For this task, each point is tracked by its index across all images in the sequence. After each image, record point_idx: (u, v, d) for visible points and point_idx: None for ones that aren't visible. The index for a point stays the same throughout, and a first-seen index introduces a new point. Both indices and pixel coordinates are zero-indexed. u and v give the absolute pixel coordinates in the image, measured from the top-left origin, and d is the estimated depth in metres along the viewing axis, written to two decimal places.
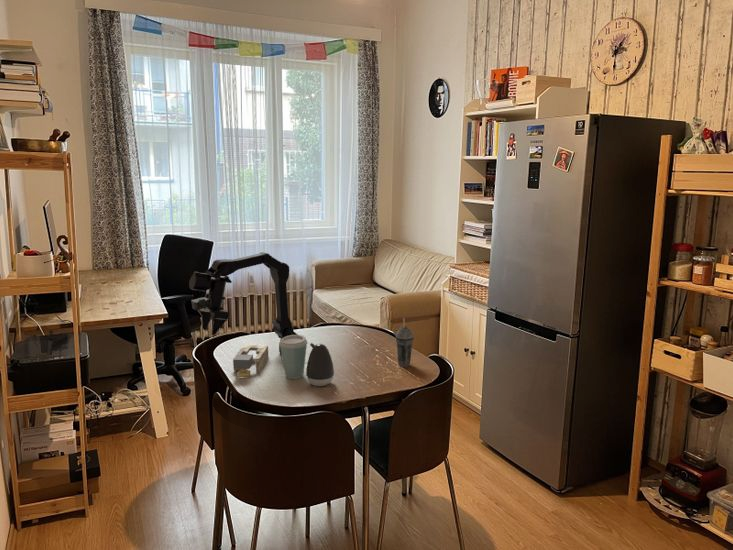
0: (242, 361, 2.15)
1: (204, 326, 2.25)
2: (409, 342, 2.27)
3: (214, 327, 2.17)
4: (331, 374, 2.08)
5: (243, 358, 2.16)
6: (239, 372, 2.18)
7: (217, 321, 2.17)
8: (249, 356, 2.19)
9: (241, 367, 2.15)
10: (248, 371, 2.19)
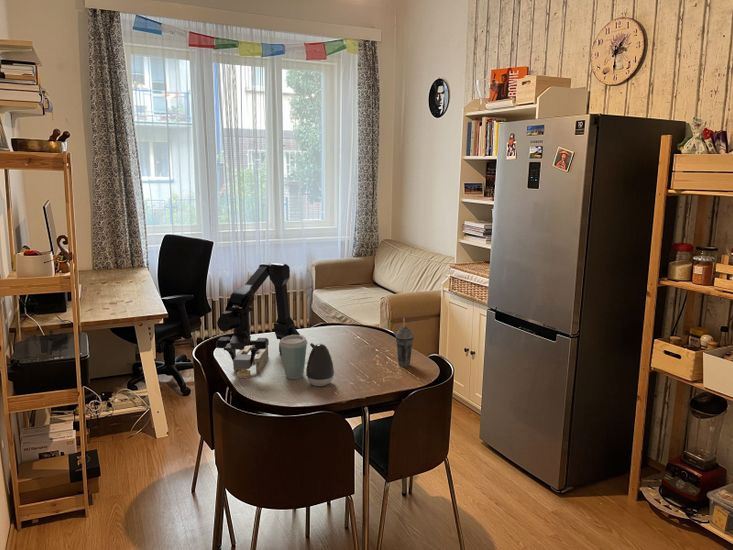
0: (242, 360, 2.15)
1: None
2: (409, 342, 2.27)
3: (254, 357, 2.17)
4: (331, 374, 2.08)
5: (243, 358, 2.16)
6: (239, 372, 2.18)
7: None
8: (249, 356, 2.18)
9: (241, 367, 2.15)
10: (248, 371, 2.19)
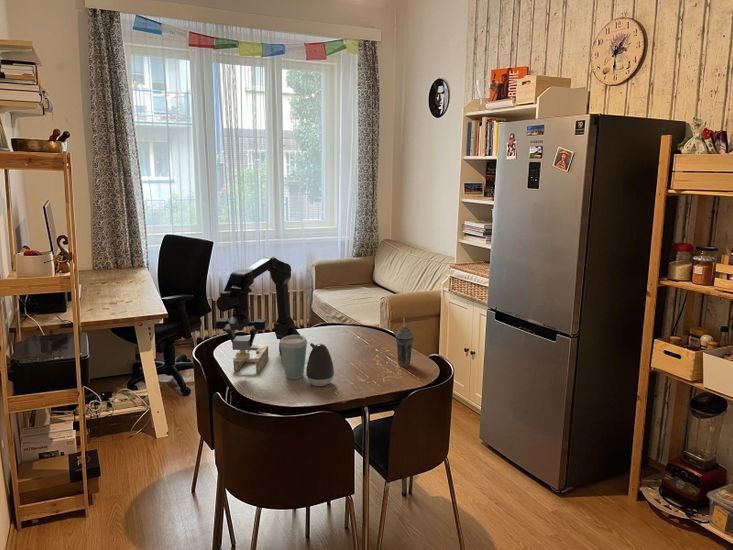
0: (241, 342, 2.13)
1: None
2: (409, 342, 2.27)
3: (253, 338, 2.15)
4: (331, 374, 2.08)
5: (242, 339, 2.15)
6: (238, 353, 2.17)
7: None
8: (248, 337, 2.17)
9: (240, 348, 2.14)
10: (247, 353, 2.18)
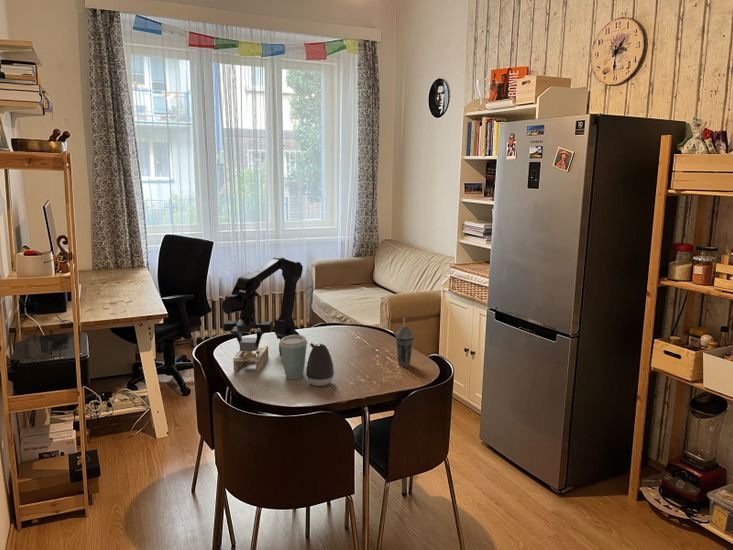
0: (248, 343, 2.23)
1: None
2: (409, 342, 2.27)
3: (259, 339, 2.25)
4: (331, 374, 2.08)
5: (249, 341, 2.24)
6: (245, 354, 2.26)
7: None
8: (255, 339, 2.27)
9: (247, 349, 2.23)
10: (254, 353, 2.28)
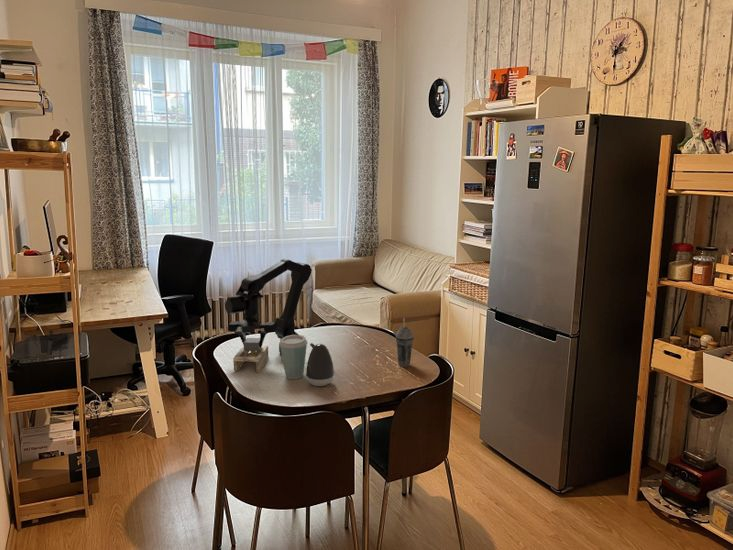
0: (251, 343, 2.29)
1: None
2: (409, 342, 2.27)
3: (263, 339, 2.31)
4: (331, 374, 2.08)
5: (252, 341, 2.30)
6: (249, 354, 2.32)
7: None
8: (258, 339, 2.32)
9: (251, 349, 2.29)
10: None
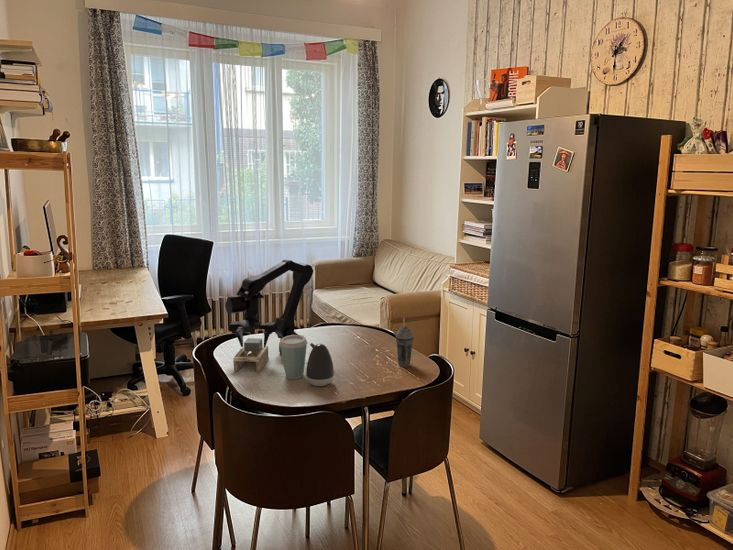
0: (252, 343, 2.30)
1: (242, 344, 2.33)
2: (409, 342, 2.27)
3: (266, 340, 2.32)
4: (331, 374, 2.08)
5: (253, 341, 2.31)
6: (249, 354, 2.33)
7: None
8: (259, 339, 2.33)
9: (251, 350, 2.30)
10: None
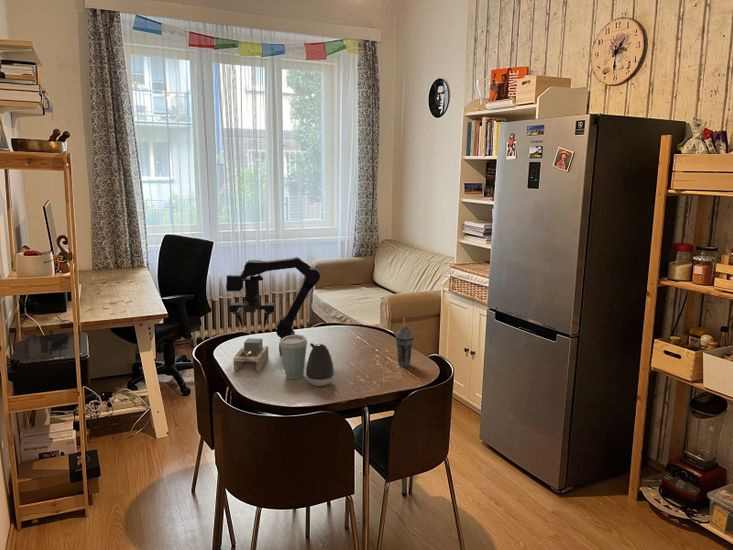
0: (252, 343, 2.30)
1: (242, 324, 2.40)
2: (409, 342, 2.27)
3: (266, 320, 2.39)
4: (331, 374, 2.08)
5: (253, 341, 2.31)
6: (249, 354, 2.33)
7: None
8: (259, 339, 2.33)
9: (251, 350, 2.30)
10: None
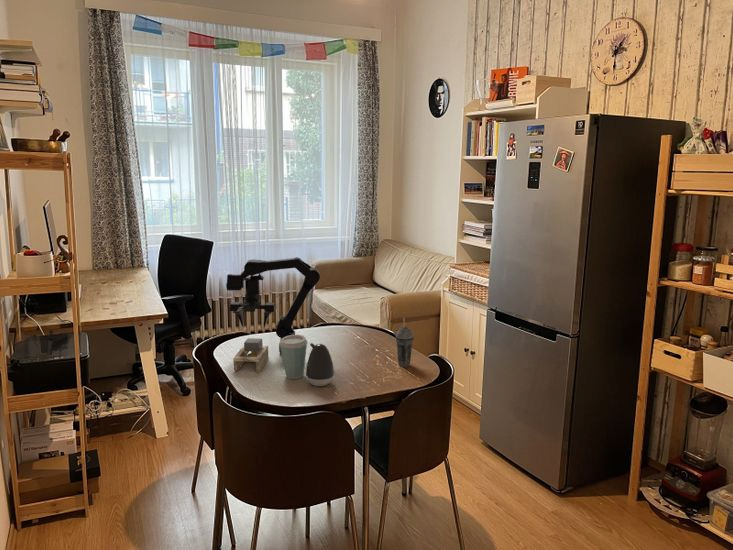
0: (252, 343, 2.30)
1: (243, 323, 2.41)
2: (409, 342, 2.27)
3: (266, 319, 2.40)
4: (331, 374, 2.08)
5: (253, 341, 2.31)
6: (249, 354, 2.33)
7: None
8: (259, 339, 2.33)
9: (251, 350, 2.30)
10: None
